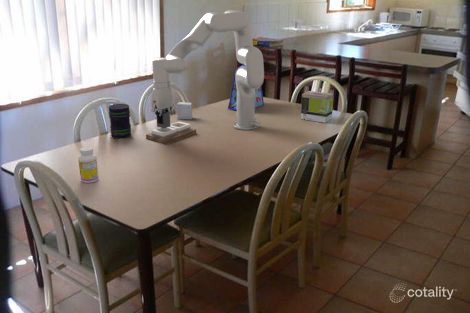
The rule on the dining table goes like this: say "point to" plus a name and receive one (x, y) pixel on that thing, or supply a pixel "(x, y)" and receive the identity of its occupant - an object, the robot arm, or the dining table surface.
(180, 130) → the socket plate
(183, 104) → the medicine box
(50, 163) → the dining table surface
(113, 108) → the storage jar
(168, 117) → the plug
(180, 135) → the walnut board
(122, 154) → the dining table surface
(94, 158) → the supplement bottle
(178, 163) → the dining table surface
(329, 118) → the tea box
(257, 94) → the lunch bag
